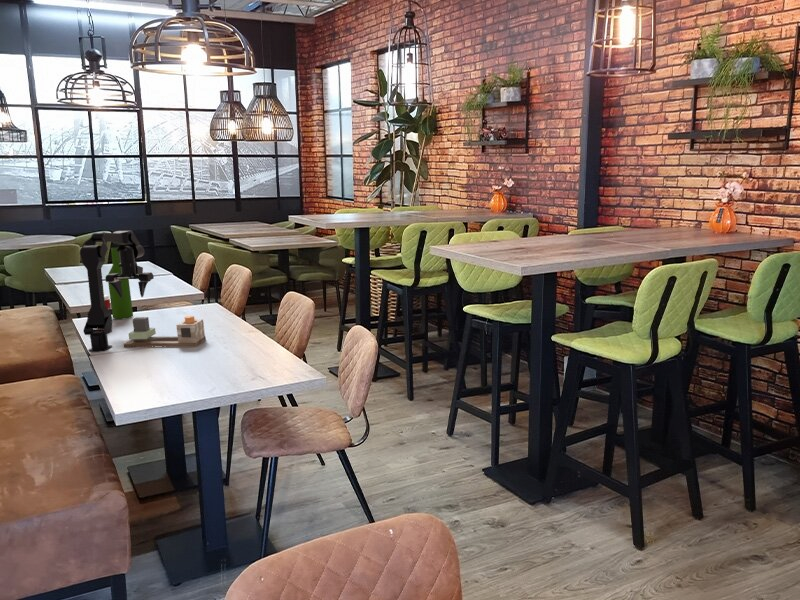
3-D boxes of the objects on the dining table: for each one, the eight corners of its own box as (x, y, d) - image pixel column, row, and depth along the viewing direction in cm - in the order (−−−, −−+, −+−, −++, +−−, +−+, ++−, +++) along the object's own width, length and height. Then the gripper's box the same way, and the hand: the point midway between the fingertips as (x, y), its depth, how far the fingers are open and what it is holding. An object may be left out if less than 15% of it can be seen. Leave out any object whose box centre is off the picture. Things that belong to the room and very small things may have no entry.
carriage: (146, 339, 260) (144, 320, 258) (129, 339, 261) (126, 320, 259) (155, 333, 268) (153, 315, 266) (139, 334, 269) (136, 316, 267)
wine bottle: (137, 315, 318) (129, 247, 312) (124, 319, 310) (116, 249, 303) (121, 314, 321) (112, 247, 314) (108, 319, 312) (99, 249, 306)
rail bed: (195, 346, 257) (193, 325, 256) (123, 347, 261) (121, 326, 259) (205, 339, 267) (203, 319, 265) (136, 340, 270) (133, 320, 269)
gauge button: (193, 330, 260) (192, 318, 259) (184, 330, 260) (183, 318, 259) (197, 328, 263) (195, 316, 262) (188, 328, 264) (186, 316, 262)
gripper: (157, 257, 288) (161, 293, 291) (116, 258, 290) (120, 293, 293) (145, 261, 277) (149, 298, 280) (102, 262, 279) (107, 299, 282)
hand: (131, 297), depth 284 cm, fingers open, 9 cm apart
